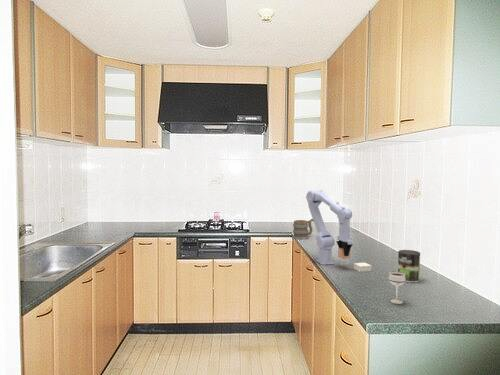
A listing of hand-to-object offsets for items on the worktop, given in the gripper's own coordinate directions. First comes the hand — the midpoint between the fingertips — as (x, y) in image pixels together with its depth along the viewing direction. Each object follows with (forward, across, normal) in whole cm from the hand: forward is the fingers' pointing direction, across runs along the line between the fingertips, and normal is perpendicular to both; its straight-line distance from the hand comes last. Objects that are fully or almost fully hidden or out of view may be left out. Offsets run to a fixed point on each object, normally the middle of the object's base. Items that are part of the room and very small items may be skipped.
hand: (344, 254), depth 211 cm
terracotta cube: (+2, 0, 0) cm, 2 cm away
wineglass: (+8, -54, +2) cm, 54 cm away
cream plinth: (+8, -5, -8) cm, 13 cm away
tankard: (+8, +93, -10) cm, 94 cm away
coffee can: (+8, -27, -22) cm, 36 cm away
